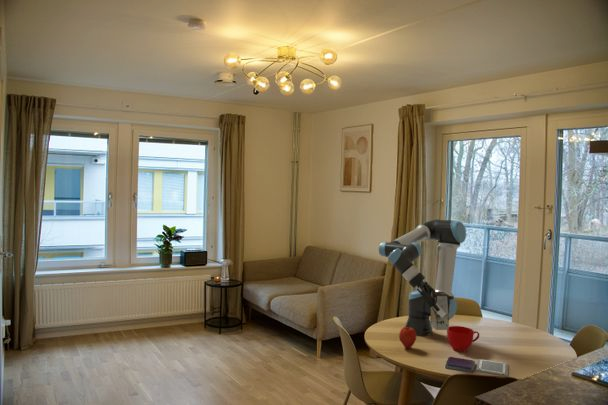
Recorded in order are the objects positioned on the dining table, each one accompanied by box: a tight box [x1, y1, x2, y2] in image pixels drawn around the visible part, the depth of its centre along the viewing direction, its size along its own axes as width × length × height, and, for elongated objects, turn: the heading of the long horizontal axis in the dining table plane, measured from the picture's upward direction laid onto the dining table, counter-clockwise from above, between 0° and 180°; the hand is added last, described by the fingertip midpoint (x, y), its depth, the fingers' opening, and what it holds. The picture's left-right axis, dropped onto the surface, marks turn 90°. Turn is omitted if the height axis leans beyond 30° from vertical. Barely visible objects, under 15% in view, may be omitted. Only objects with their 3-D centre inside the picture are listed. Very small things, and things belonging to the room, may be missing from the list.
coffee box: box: [429, 292, 450, 331], centre depth 224 cm, size 9×6×16 cm
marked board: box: [475, 358, 509, 377], centre depth 217 cm, size 13×15×1 cm
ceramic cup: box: [446, 325, 480, 352], centre depth 242 cm, size 13×17×10 cm
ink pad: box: [445, 356, 476, 373], centre depth 219 cm, size 12×12×2 cm
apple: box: [398, 326, 417, 349], centre depth 241 cm, size 9×8×11 cm
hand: (446, 313), depth 222 cm, fingers closed on coffee box, 11 cm apart
